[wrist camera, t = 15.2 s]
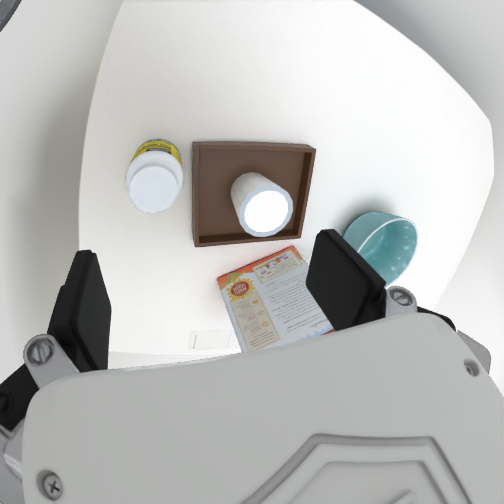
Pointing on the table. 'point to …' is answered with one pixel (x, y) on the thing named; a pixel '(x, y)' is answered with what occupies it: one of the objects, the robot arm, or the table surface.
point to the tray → (233, 166)
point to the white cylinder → (260, 204)
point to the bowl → (384, 242)
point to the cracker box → (272, 302)
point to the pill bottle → (155, 176)
